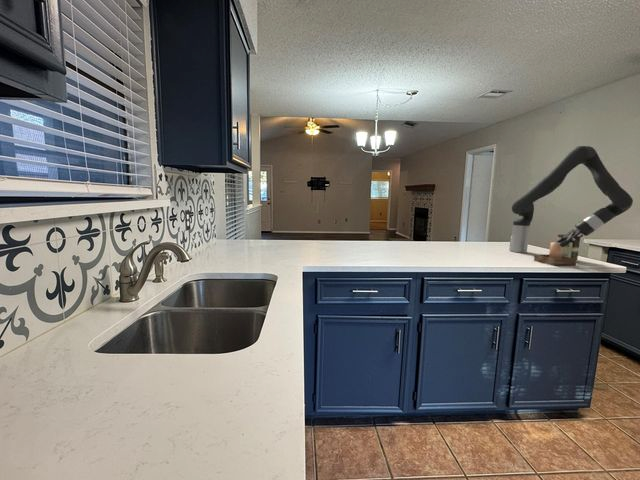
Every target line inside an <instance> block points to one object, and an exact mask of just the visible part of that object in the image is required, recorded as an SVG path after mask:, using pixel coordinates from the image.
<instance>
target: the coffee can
mask: <svg viewBox="0 0 640 480" xmlns="http://www.w3.org/2000/svg"><path fill="white" fill-rule="evenodd" d="M563 235H564V234H557V241H558V240H560V239H561V238H562V237H563ZM580 242H581V238H579V239H578V240H576V241H575V242H574V243H569V244H568V245H566V246H565V247H563V251H562V256H565V257H570V258H574V259H577V260H576V262H578V256H579V250H580V249H579V248H580Z"/></svg>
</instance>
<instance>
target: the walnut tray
mask: <svg viewBox="0 0 640 480" xmlns="http://www.w3.org/2000/svg"><path fill="white" fill-rule="evenodd" d="M576 260H577V261H578V259H574V258H570V257H565V256H562V259H553V258H549V253H546V254H534V256H533V261H534V262H537V263H542V264H545V265H548V266H553V267H563V266H565V267H567V266H570V267H573V266H574V267H576V266H577V261H576Z"/></svg>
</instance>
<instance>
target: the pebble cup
mask: <svg viewBox="0 0 640 480" xmlns="http://www.w3.org/2000/svg"><path fill="white" fill-rule="evenodd" d="M562 251H563V247H561V246H560V243H559V242H557V241H552V242H550V245H549V252H548V254H549V258H553V259H562Z"/></svg>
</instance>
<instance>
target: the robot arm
mask: <svg viewBox="0 0 640 480" xmlns="http://www.w3.org/2000/svg"><path fill="white" fill-rule="evenodd" d="M579 165H583V166H584V167H586V168H587V169H588V170H589V172H590V173H591V175H592V177H593V180H594V183H595V185H596V186H597V188H598V189H599V190H600V191H601V192H602V194H603V195H605V196H606V197H608V199H609V200H610V202H611V203H610V204H609V203H608V205H607V206H604V207H601V208H599V209H598V210H596V211H595V212H593V213H592V214H590V215H588V216H586V217H585V218H584V219H582V220H580V221H579V222H577V223H576V224H574V227H575V228H576V229H571V230H570V231H568V232H567V233H565V234H563V237H562V238H561V239H560V240H558V239H557V241H556V242H559V243H560V246H561V247H565V246H566V245H568V244H569V243H574V242H575V241H576V240H578V239H579V238H580V239H581V238H582V237H584V236H585V237H588V236H589V235H591V234H593V233H594V232H595V231H597V230H599V229H601V228H602V227H603V226H604V225H605V224H606V223H608V222H610V221H611V220H612V219H614V218H616V217H617V216H620V215H622V214H623V213H625V212H627V211H628V210H629V209H630V208H631V207H632V206H633V202H634V200H633V198H632V196H631V194H629V193H628V191H626V190H625V189H624V188H623V187H622V186H620V184H619V183H618V181H617V180H616V179H615V178H614V177H613V176H612V174H611V173H610V172H609V171H608V169H607V167H606V166H605V165H604V164H603V162H602V160H601V158H600V156H599V155H598V153H597V150H596V149H595V148H594V147H593V146H589V145H588V146H587V145H579V146H576V147H574V148H573V149H571V150H570V151H569V152H568V153H567V154H566V156H565V157H564V158H563V159H562V160H561V161H560V162H559V163H558V164H557V165H556V166H555V167H554V168H553V169H551V170H550V171H549V172H548V173H547V174H546V175H544V176H543V178H541V179H540V180H539V181H538V182H537V183H536V184H535V185H534V186H532V187H531V189H530V190H529V191H527V192H526V193H525V194H523V195H521V197H519V198H518V199H517V200H515V201H514V203H513V204H512V206H511V211H512V213H513V214H515V215H518V216H517V218H515V219H514V220H513V223H512V231H511V236H510V239H509V251H510V252H513V253H514V252H515V253H523V254H524V253H526V254H527V253H528V246H529V240H530V239H529V238H530V230H531V229H530V228H531V223H532V221H533V218H534V212H535V205H534V203H535V202H536V201H538V200H541V198H544V197H546V196H548V195H550V194H551V193H552V192H555V190H556V189H558V187H560V186H561V185H562V184H563V183H564V181H565V179H566V177H567V175H568V174H569V173H570V172H572V171H573V170H574V169H576V167H578V166H579Z"/></svg>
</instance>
